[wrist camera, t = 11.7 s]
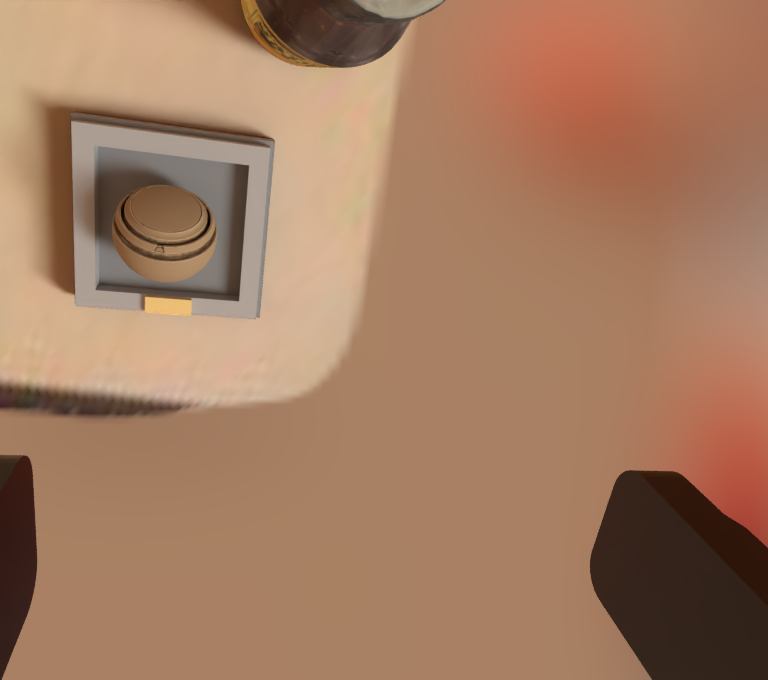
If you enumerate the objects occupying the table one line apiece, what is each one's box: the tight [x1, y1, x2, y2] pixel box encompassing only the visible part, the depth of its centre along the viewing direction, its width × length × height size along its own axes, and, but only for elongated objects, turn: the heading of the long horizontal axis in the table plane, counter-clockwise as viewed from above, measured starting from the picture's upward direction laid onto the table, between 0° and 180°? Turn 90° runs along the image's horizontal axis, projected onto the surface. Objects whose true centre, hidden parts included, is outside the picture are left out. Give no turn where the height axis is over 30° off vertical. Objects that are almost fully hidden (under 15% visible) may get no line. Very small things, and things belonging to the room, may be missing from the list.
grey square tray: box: [71, 112, 275, 319], centre depth 35 cm, size 10×10×2 cm
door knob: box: [112, 185, 217, 282], centre depth 33 cm, size 5×5×5 cm
